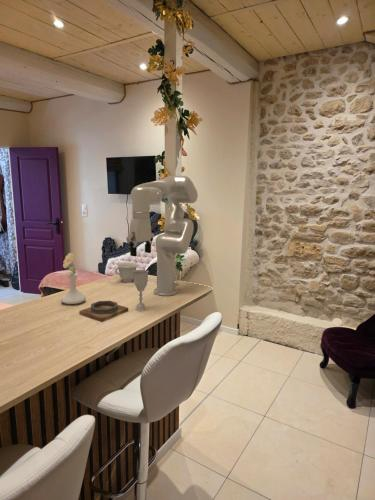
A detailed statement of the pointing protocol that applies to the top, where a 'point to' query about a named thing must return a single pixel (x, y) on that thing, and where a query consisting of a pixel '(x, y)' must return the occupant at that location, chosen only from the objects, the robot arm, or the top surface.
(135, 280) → the chalice
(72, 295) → the flower in vase
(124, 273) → the teacup
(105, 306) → the display stand
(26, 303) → the top surface
